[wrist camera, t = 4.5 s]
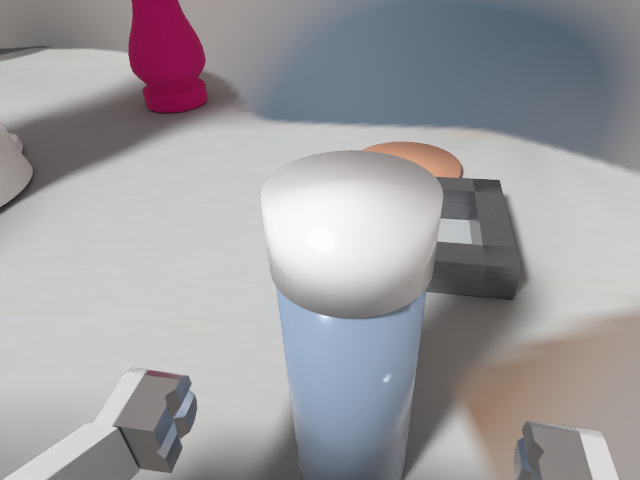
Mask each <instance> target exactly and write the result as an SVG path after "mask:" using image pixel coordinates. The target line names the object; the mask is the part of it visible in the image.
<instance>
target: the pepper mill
mask: <svg viewBox="0 0 640 480" xmlns="http://www.w3.org/2000/svg"><path fill="white" fill-rule="evenodd" d="M132 10H133V18H132V27H131V32H130V38H129V53H128V55H129V60H130V66H131V69H132V71H133V72H134V74H135V75H136V76H137V77H138V78H140V79H141V80H142V81H143V82H145V83H146V84H147V86H145V88H144V89H143V94H144V98H145V102H146V106H147V108H149V109H150V110H151V111H155V112H159V113H175V112H183V111H187V110H191V109H194V108H197V107H199V106H201V105H203V104H204V103H205V102H206V101H207V92H206V86H205V82H204V81H202V80H201V79H199V78H198V77H199V75H200V73H201V72H202V70H203V68H204V65H205V55H204V51H203V47H202V45H201V42H200V40H199V38H198V36H197V35H196V33H195V31H194V30H193V28H192V26H191V25H190V24H189V22H188V20H187V19H186V17H185V15H184V13H183V12H182V9H181V7H180V5H179V2H178V0H132Z"/></svg>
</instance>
